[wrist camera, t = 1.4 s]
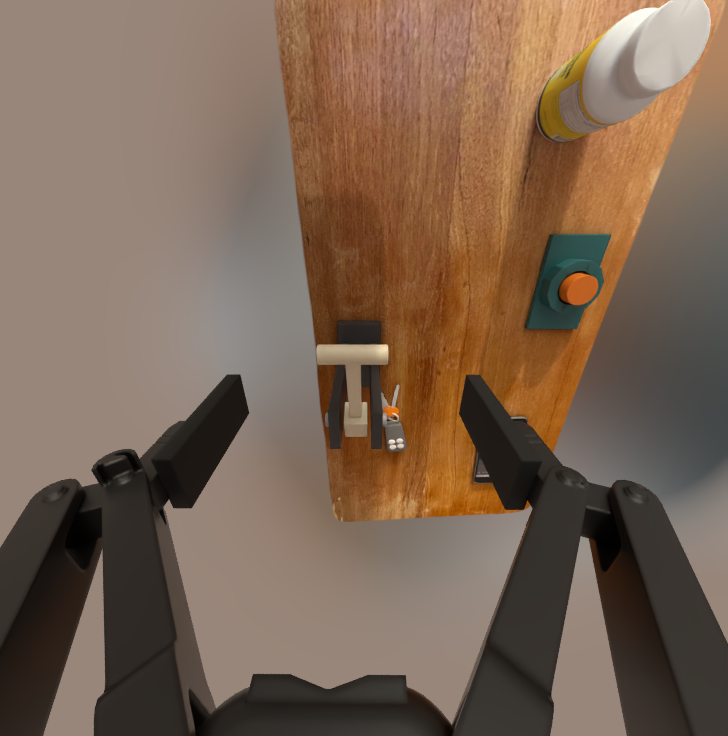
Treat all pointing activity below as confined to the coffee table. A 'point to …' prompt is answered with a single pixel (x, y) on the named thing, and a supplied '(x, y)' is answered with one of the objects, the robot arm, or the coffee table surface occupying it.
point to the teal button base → (559, 263)
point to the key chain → (393, 425)
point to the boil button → (578, 288)
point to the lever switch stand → (369, 378)
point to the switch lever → (353, 378)
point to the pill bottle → (623, 70)
